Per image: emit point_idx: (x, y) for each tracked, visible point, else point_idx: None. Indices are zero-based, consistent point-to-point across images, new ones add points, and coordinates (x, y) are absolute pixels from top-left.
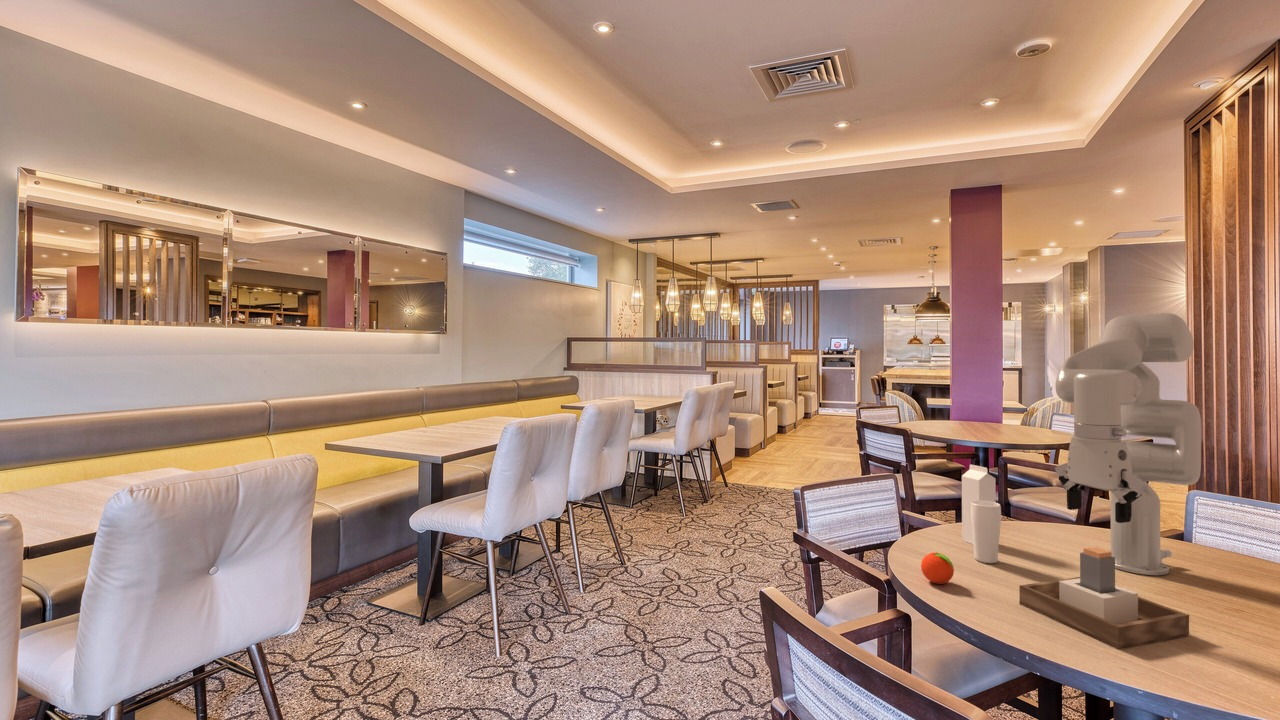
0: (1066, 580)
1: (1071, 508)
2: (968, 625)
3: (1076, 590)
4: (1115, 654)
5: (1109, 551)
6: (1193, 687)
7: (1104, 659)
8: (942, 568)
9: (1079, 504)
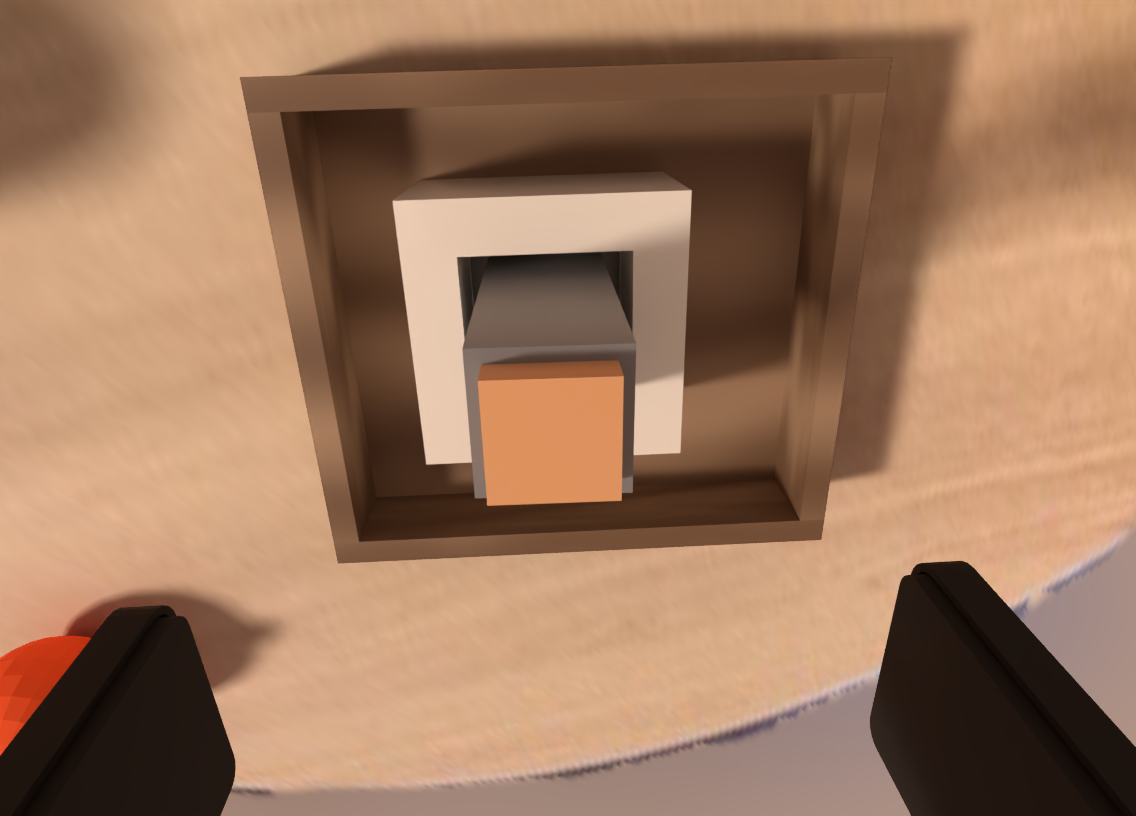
0: (423, 417)
1: (227, 776)
2: (495, 777)
3: None
4: None
5: (609, 380)
6: (1036, 496)
7: (812, 587)
8: None
9: (164, 700)
